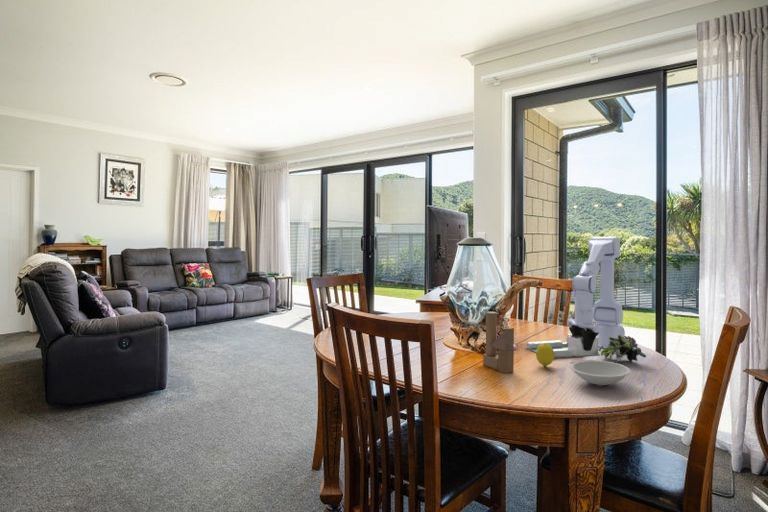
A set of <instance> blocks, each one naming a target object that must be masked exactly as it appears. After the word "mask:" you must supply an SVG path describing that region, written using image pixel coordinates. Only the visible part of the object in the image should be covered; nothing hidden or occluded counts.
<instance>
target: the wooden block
mask: <svg viewBox="0 0 768 512" xmlns="http://www.w3.org/2000/svg"><path fill="white" fill-rule="evenodd" d="M497 320H498V313H497V312H496V311H486V312H485V328H486V345H485V353H483V354H482V364H483V366H487V367H489V368H491V369H494V370H495V371H496V370H497V371H498V372H501V373H503V374H510V373H514V360H515V359H514V358H515V357H514V351H515V350H514V345H515V336H514V335H515V328H514V327H513V328H512V327H511V328H505V329H504V330H503V331H502V333H500V336H499V337H498V338H497V327H498V326H497V324H498V321H497Z"/></svg>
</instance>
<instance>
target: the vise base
mask: <svg viewBox="0 0 768 512" xmlns="http://www.w3.org/2000/svg"><path fill="white" fill-rule="evenodd" d="M524 348H525V349H526V350H529V351H531V352H533V353H535V354H536V351H537V349H529V348H527V346H524ZM552 349H553V352H554V359H560V358H559V357H565V358H573V357H572V356H574V355H572V354H569V353H568V346H562V347H555V348H552ZM600 355H601V353H598V354H596V355H595V356H600ZM582 357H586V356H585V355H583V356H582Z"/></svg>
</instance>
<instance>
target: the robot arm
mask: <svg viewBox="0 0 768 512" xmlns="http://www.w3.org/2000/svg"><path fill="white" fill-rule="evenodd" d="M587 241H588V243H587V248H588V251H589V255H588V260H586V261H584V262H583V263H582V265H581V267H580V270H579V272H578V275H576V276H573V278H572V281H571V283H572V284H571V287H572V288H571V289H572V295H573V297H574V318H567V320H566V321H567V322H566V323H567V325H568V330H569V332H570V334H572V336H576V335H582V336H583V340H584V350H585V351H591V349H592V345H593V342H594V340H595V338H596V336H597V337H599V343H598V348H600V347H601V346H603V347H604V348H603V350H604V349H605V348H607V347H608V346H609V344H610V342H609V341H611V340H610V339H609V336H610V337H612V338H614V339H616V338H617V339H618V335H622V337H624V336H626V334H625V333H626V332H625V328H624V327H623V325H622V322H623V320H624V319H623V318H624V311H623V306H622V304H621V303H620V302H618V301H617V300H616V299H615V261H616V258H619V257H620V254H621V243H620V242H621V241H620V238H619V237H618V236H616V235H615V236H590V238H589V239H588V240H587ZM599 272H600V274H599ZM598 275H600V281H599V282H600V289H599V291H600V293H599V294H600V295H599V297H600V299H598V300H596V301H595V302H594V293H595V291H596V288H597V278H598ZM593 322H595V323H593ZM569 325H571V326H569ZM624 338H625V337H624ZM612 348H613V347H612ZM614 348H615V347H614Z"/></svg>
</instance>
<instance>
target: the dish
mask: <svg viewBox="0 0 768 512" xmlns="http://www.w3.org/2000/svg"><path fill="white" fill-rule="evenodd" d="M570 369H571V371H573V372H574V373H575V374H576V375H577V376H578V377H579V378H580V379H581V380H583V381H585V382H588V383H590V384H594V385H596V386H599V387H603V386H607V385H608V386H609V385H612V384H613V385H614V384H616V383H619V382H620V381H622V380H623V379H624V378H625V377H626V376H628V375H630V374H631V368H629V367H628V366H626V365H624V364H621V363H618V362H617V363H616V362H614V361H613V362H611V361H607V360H581V361H575V362H573V363H571V364H570Z"/></svg>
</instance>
